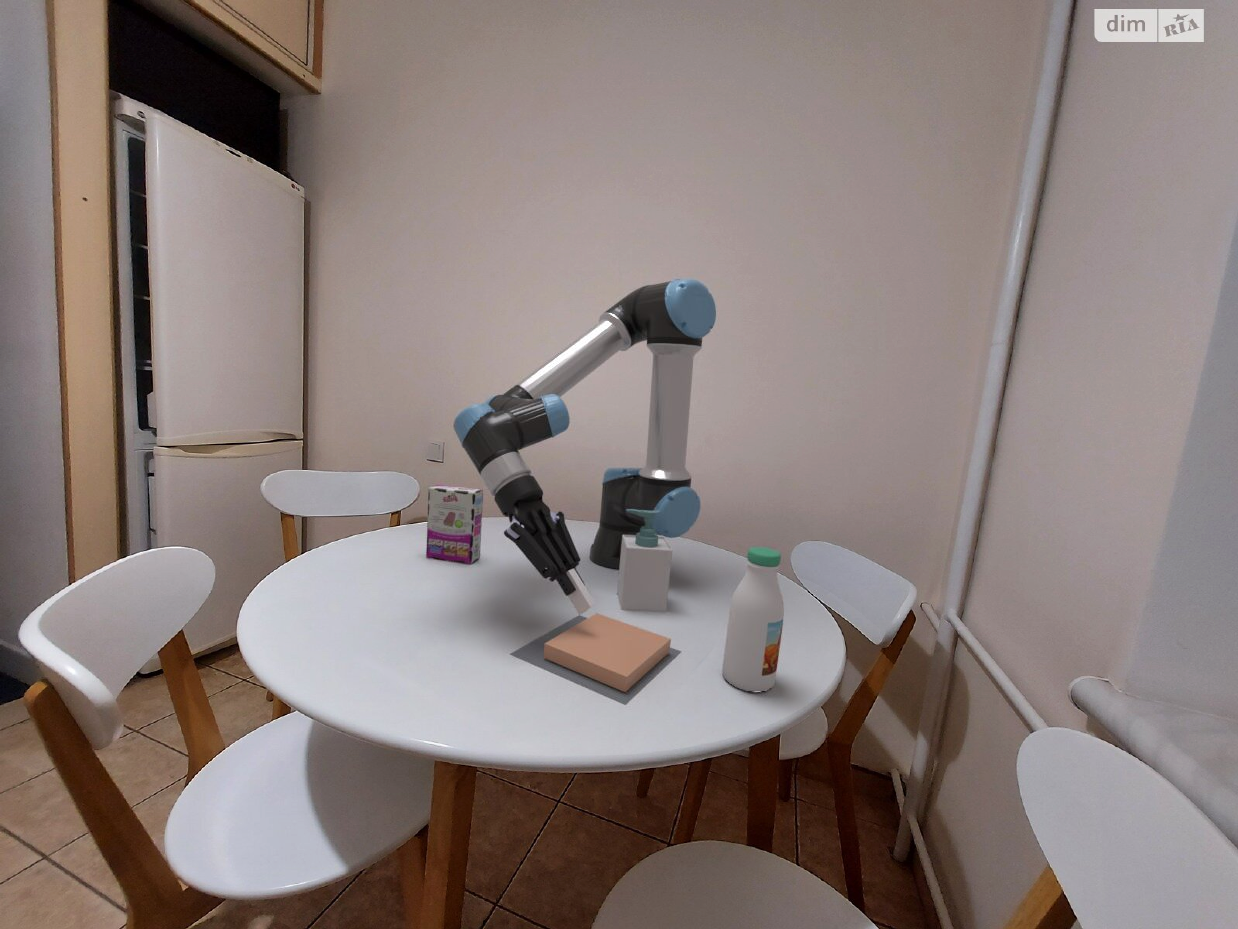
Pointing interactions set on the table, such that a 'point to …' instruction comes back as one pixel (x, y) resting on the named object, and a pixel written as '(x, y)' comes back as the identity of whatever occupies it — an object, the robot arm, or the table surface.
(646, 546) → the soap bottle
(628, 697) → the mat
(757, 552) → the milk bottle
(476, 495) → the candy bar box
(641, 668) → the tile
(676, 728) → the table surface
